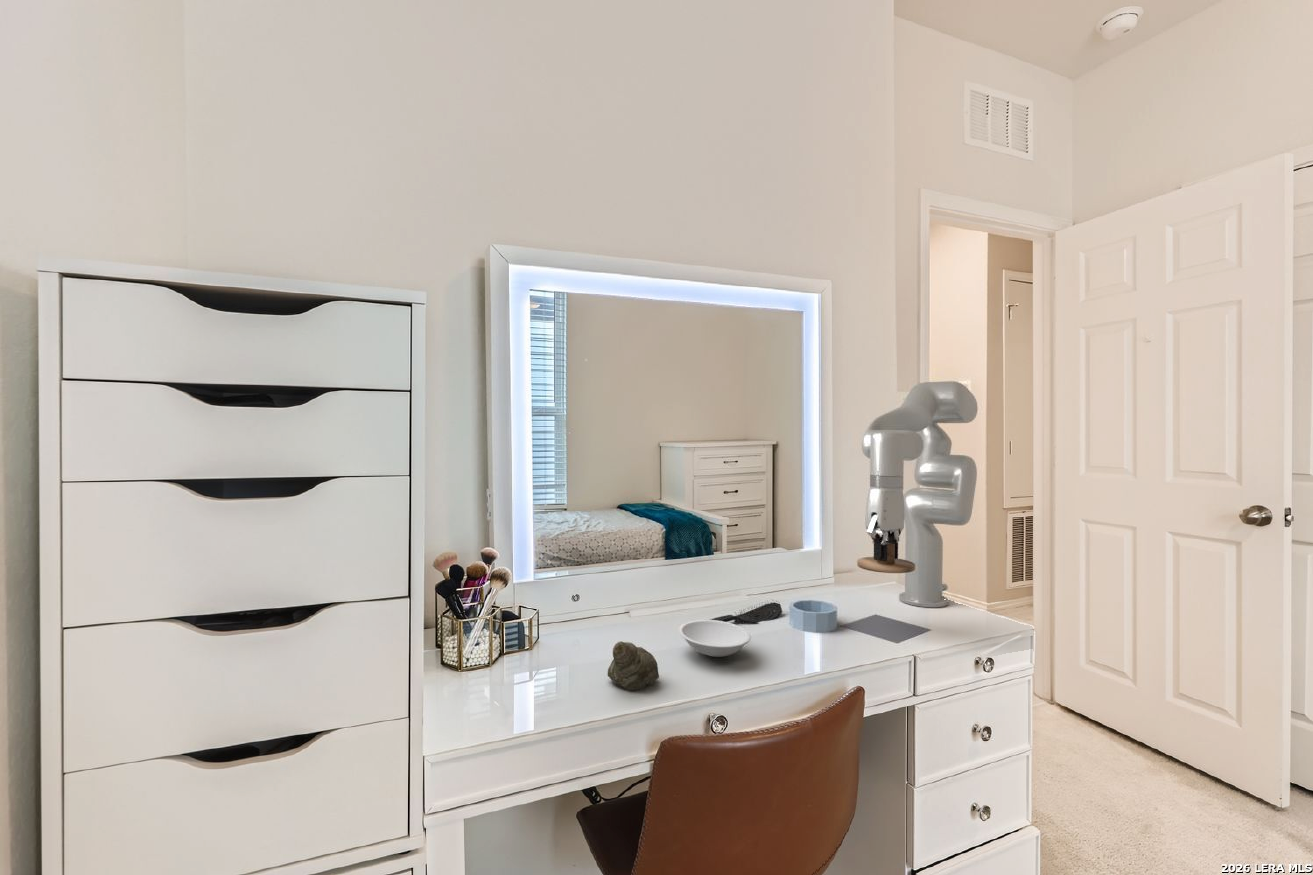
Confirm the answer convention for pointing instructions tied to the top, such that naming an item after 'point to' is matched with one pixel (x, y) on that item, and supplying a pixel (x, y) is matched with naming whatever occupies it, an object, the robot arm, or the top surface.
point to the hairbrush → (755, 614)
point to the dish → (714, 637)
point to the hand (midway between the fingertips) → (885, 558)
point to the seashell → (632, 666)
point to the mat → (886, 628)
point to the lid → (887, 563)
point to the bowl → (813, 616)
